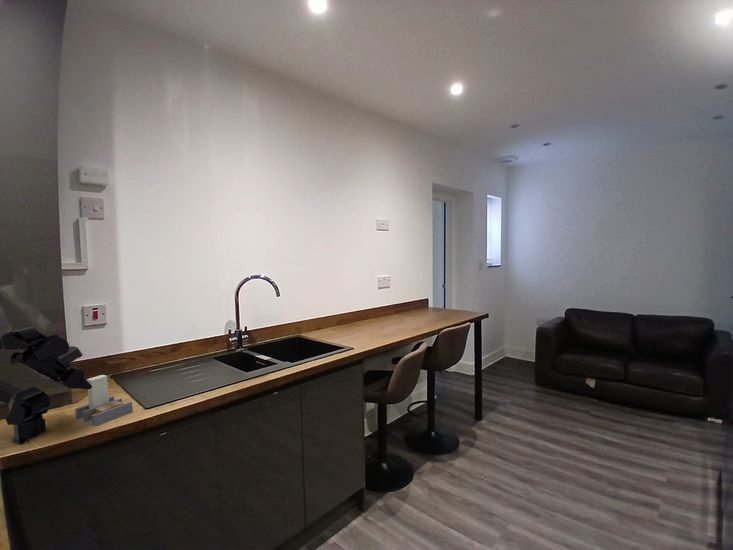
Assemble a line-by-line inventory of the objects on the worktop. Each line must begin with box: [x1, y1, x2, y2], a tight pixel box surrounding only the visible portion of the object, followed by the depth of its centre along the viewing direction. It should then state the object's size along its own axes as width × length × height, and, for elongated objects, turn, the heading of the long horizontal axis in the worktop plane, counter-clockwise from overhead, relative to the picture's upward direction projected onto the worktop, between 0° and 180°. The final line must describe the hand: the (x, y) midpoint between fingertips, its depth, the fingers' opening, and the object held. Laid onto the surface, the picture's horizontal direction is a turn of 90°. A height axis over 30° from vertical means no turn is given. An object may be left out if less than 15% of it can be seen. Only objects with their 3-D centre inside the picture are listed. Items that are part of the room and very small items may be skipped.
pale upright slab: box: [86, 374, 110, 409], centre depth 130 cm, size 5×3×13 cm, turn 152°
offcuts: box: [90, 401, 125, 421], centre depth 128 cm, size 9×4×4 cm, turn 152°
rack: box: [74, 395, 134, 427], centre depth 129 cm, size 12×12×4 cm
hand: (84, 385), depth 126 cm, fingers open, 9 cm apart
